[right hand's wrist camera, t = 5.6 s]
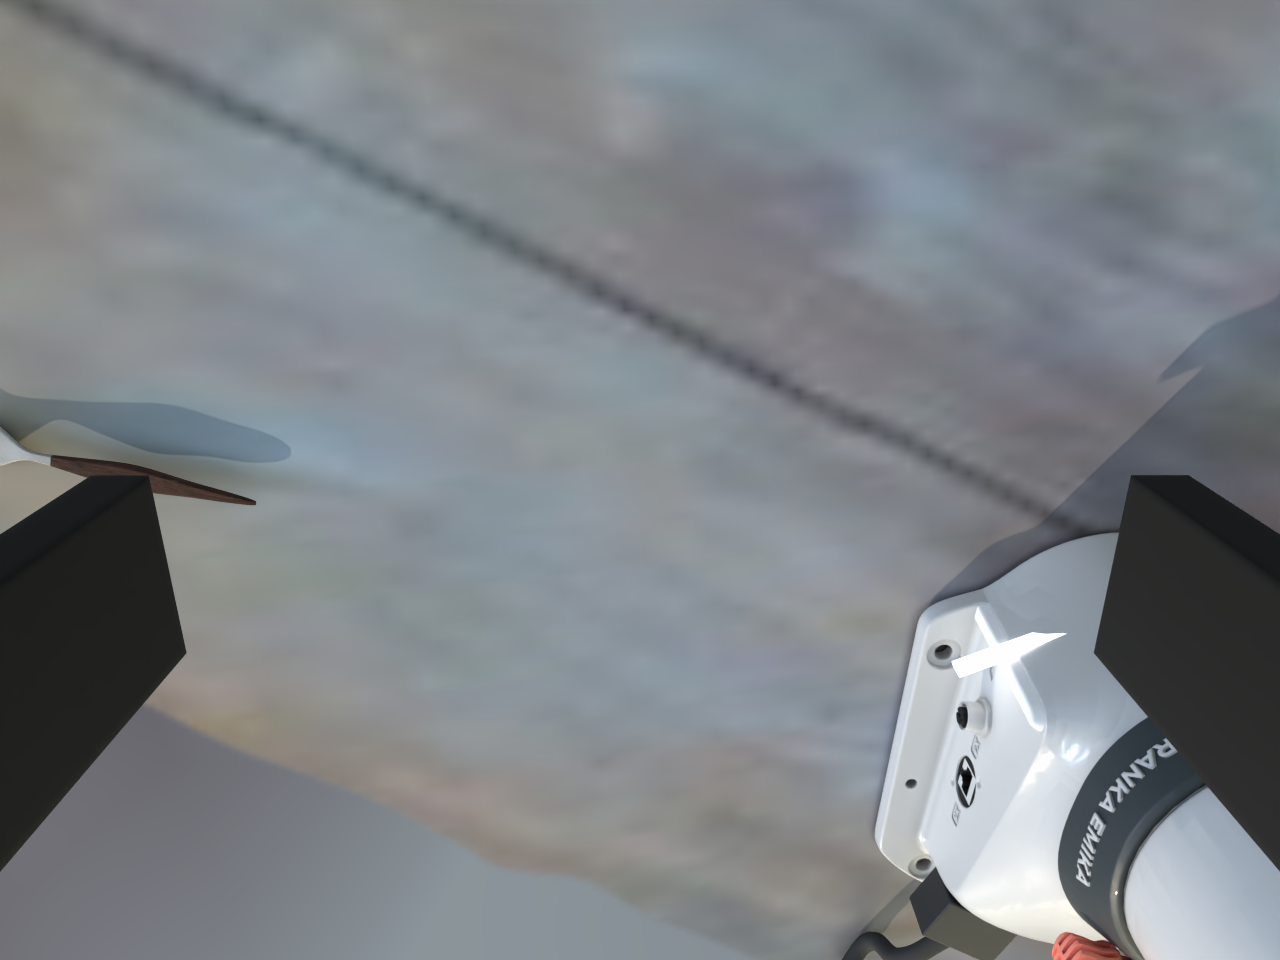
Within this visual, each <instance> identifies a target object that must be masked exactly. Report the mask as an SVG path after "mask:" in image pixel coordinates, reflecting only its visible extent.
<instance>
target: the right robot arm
mask: <svg viewBox="0 0 1280 960" xmlns="http://www.w3.org/2000/svg"><path fill="white" fill-rule="evenodd" d="M185 654H186V649H185V644H184V639H183V634H182V630H181V625H180V620H179V616H178V611H177V606H176V601H175V597H174V592H173V587H172V582H171V578H170V573H169V568H168V564H167V559H166V554H165V549H164V545H163V540H162V535H161V530H160V526H159V521H158V516H157V512H156V507H155V502H154V497H153V493H152V488H151V483H150V478H149V475H91V476H90V477H88V478H87V479H85V480H84V481H82V482H81V483H79V484H77V485H76V486H74V487H73V488H71V489H70V490H68V491H67V492H65V493H64V494H62V495H60V496H59V497H57V498H56V499H54V500H53V501H51V502H50V503H48V504H47V505H45V506H43V507H42V508H40V509H39V510H37V511H36V512H34V513H33V514H31V515H30V516H28V517H26V518H25V519H23V520H22V521H20V522H19V523H17V524H16V525H14V526H13V527H11V528H9V529H8V530H6V531H5V532H3V533H2V534H0V871H1V870H2V869H3V868H4V867H5V865H6V864H7V863H8V862H9V861H10V860H11V858H12V857H13V856H14V855H15V854H16V853H17V851H18V850H19V849H20V848H21V847H22V845H23V844H24V843H25V842H26V841H27V839H28V838H29V837H30V836H31V835H32V834H33V833H34V831H35V830H36V829H37V828H38V827H39V825H40V824H41V823H42V822H43V821H44V820H45V818H46V817H47V816H48V815H49V814H50V813H51V811H52V810H53V809H54V808H55V807H56V806H57V804H58V803H59V802H60V801H61V800H62V799H63V797H64V796H65V795H66V794H67V793H68V791H69V790H70V789H71V788H72V787H73V786H74V784H75V783H76V782H77V781H78V780H79V779H80V777H81V776H82V775H83V774H84V773H85V771H86V770H87V769H88V768H89V767H90V766H91V764H92V763H93V762H94V761H95V760H96V759H97V757H98V756H99V755H100V754H101V753H102V752H103V750H104V749H105V748H106V747H107V746H108V745H109V743H110V742H111V741H112V740H113V739H114V737H115V736H116V735H117V734H118V733H119V732H120V730H121V729H122V728H123V727H124V726H125V725H126V723H127V722H128V721H129V720H130V719H131V717H132V716H133V715H134V714H135V713H136V712H137V710H138V709H139V708H140V707H141V706H142V705H143V703H144V702H145V701H146V700H147V699H148V698H149V696H150V695H151V694H152V693H153V692H154V691H155V689H156V688H157V687H158V686H159V685H160V683H161V682H162V681H163V680H164V679H165V678H166V676H167V675H168V674H169V673H170V672H171V671H172V669H173V668H174V667H175V666H176V665H177V664H178V662H179V661H180V660H181V659H182V658H183V656H184V655H185ZM1094 654H1095V655H1096V656H1097V658H1098V659H1099V660H1100V661H1101V662H1102V664H1103V665H1104V666H1105V667H1106V668H1107V669H1108V671H1109V672H1110V673H1111V674H1112V675H1113V676H1114V678H1115V679H1116V680H1117V681H1118V682H1119V683H1120V685H1121V686H1122V687H1123V688H1124V689H1125V691H1126V692H1127V693H1128V694H1129V695H1130V696H1131V698H1132V699H1133V700H1134V701H1135V702H1136V703H1137V705H1138V706H1139V707H1140V708H1141V709H1142V710H1143V712H1144V713H1145V714H1146V715H1147V716H1148V718H1149V719H1150V720H1151V721H1152V722H1153V723H1154V725H1155V726H1156V727H1157V728H1158V729H1159V730H1160V732H1161V733H1162V734H1163V735H1164V736H1165V737H1166V739H1167V740H1168V741H1169V742H1170V743H1171V745H1172V746H1173V747H1174V748H1175V749H1176V750H1177V752H1178V753H1179V754H1180V755H1181V756H1182V757H1183V759H1184V760H1185V761H1186V762H1187V763H1188V764H1189V766H1190V767H1191V768H1192V769H1193V770H1194V772H1195V773H1196V774H1197V775H1198V776H1199V777H1200V779H1201V780H1202V781H1203V782H1204V783H1205V784H1206V786H1207V787H1208V788H1209V789H1210V790H1211V791H1212V793H1213V794H1214V795H1215V796H1216V797H1217V799H1218V800H1219V801H1220V802H1221V803H1222V804H1223V806H1224V807H1225V808H1226V809H1227V810H1228V811H1229V813H1230V814H1231V815H1232V816H1233V817H1234V818H1235V820H1236V821H1237V822H1238V823H1239V824H1240V826H1241V827H1242V828H1243V829H1244V830H1245V831H1246V833H1247V834H1248V835H1249V836H1250V837H1251V838H1252V840H1253V841H1254V842H1255V843H1256V844H1257V845H1258V847H1259V848H1260V849H1261V850H1262V851H1263V853H1264V854H1265V855H1266V856H1267V857H1268V858H1269V860H1270V861H1271V862H1272V863H1273V864H1274V865H1275V867H1276V868H1277V869H1278V870H1279V871H1280V534H1278V533H1277V532H1275V531H1274V530H1272V529H1271V528H1269V527H1267V526H1266V525H1264V524H1263V523H1261V522H1260V521H1258V520H1257V519H1255V518H1254V517H1252V516H1250V515H1249V514H1247V513H1246V512H1244V511H1243V510H1241V509H1240V508H1238V507H1237V506H1235V505H1233V504H1232V503H1230V502H1229V501H1227V500H1226V499H1224V498H1223V497H1221V496H1220V495H1218V494H1216V493H1215V492H1213V491H1212V490H1210V489H1209V488H1207V487H1206V486H1204V485H1203V484H1201V483H1199V482H1198V481H1196V480H1195V479H1193V478H1192V477H1190V476H1189V475H1131V478H1130V483H1129V488H1128V493H1127V497H1126V502H1125V507H1124V512H1123V516H1122V521H1121V526H1120V530H1119V535H1118V540H1117V545H1116V549H1115V554H1114V559H1113V564H1112V568H1111V573H1110V578H1109V582H1108V587H1107V592H1106V597H1105V601H1104V606H1103V611H1102V616H1101V620H1100V625H1099V630H1098V634H1097V639H1096V644H1095V649H1094Z"/></svg>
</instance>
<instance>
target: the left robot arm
mask: <svg viewBox="0 0 1280 960" xmlns="http://www.w3.org/2000/svg"><path fill="white" fill-rule="evenodd" d="M1118 535H1119V532H1116V533H1105V534H1097V535H1092V536H1087V537H1083V538H1079V539H1075V540H1072V541H1068V542H1065V543H1062V544H1060V545H1057V546H1055V547H1052V548H1050V549H1048V550H1046V551H1043V552H1041V553H1039V554H1037V555H1036V556H1034V557H1032V558H1030V559H1028V560H1027V561H1025V562H1024V563H1022V564H1020V565H1019V566H1017V567H1016V568H1015V569H1013V570H1012V571H1010V572H1009V573H1007V574H1006V575H1004V576H1003V577H1002V578H1000V579H999V580H997V581H995V582H994V583H992V584H990V585H988V586H987V587H985V588H983V589H980V590H976V591H972V592H968V593H964V594H961V595H957V596H954V597H951V598H948V599H945V600H942V601H940V602H937V603H935V604H933V605H931V606H930V607H929V608H927V609H926V610H925V611H924V612H923V613H922V615H921V617H920V618H919V621H918V625H917V629H916V634H915V639H914V643H913V648H912V653H911V658H910V663H909V668H908V672H907V677H906V682H905V687H904V692H903V696H902V701H901V706H900V711H899V716H898V720H897V725H896V730H895V735H894V740H893V744H892V749H891V754H890V759H889V764H888V769H887V773H886V778H885V783H884V788H883V793H882V797H881V802H880V807H879V812H878V817H877V822H876V827H875V840H876V842H877V844H878V846H879V848H880V851H881V852H882V853H883V854H884V855H885V857H886V858H887V859H889V860H890V861H891V862H892V863H893V864H894V865H895V866H896V867H898V868H899V869H900V870H902V871H904V872H905V873H907V874H908V875H910V876H912V877H913V878H915V879H917V880H919V881H921V882H922V883H921V884H920V885H919V887H918V888H917V889H916V890H915V891H914V893H913V894H912V895H911V896H910V901H911V904H912V906H913V909H914V912H915V915H916V918H917V921H918V924H919V927H920V929H921V932H922V935H923V936H925V937H924V938H922V939H920V940H919V941H917V942H915V943H913V944H911V945H909V946H906V947H901V948H896V947H895V946H893V945H892V944H891V943H890V942H889V941H888V940H887V938H886V937H884V936H883V935H882V934H880V933H877V932H866V933H864V934H862V935H861V936H860V937H859V938H857V940H856V941H855V942H854V943H853V944H852V945H851V947H850V948H849V950H848V951H847V953H846V954H845V956H844V957H843V959H842V960H863V959H864V958H865V956H866V955H867V954H868V953H869V952H871V951H873V950H874V951H876V952H877V953H878V954H879V955H880V956H881V958H882V959H883V960H928V959H930V958H931V957H933V956H935V955H936V954H938V953H940V952H941V951H943V950H945V949H947V948H949V947H951V948H953V949H955V950H958V951H960V952H962V953H965V954H967V955H969V956H972V957H974V958H976V959H978V960H995V959H996V957H997V956H998V955H999V954H1000V953H1001V952H1002V951H1003V950H1004V949H1005V948H1006V947H1007V946H1008V944H1009V943H1010V942H1011V941H1012V940H1013V939H1014V938H1015V937H1016V936H1017V935H1021V936H1024V937H1027V938H1031V939H1035V940H1039V941H1043V942H1048V943H1052V944H1054V946H1053V951H1052V957H1054V960H1280V871H1279V870H1278V869H1277V868H1276V867H1275V865H1274V864H1273V863H1272V862H1271V861H1270V860H1269V858H1268V857H1267V856H1266V855H1265V854H1264V853H1263V851H1262V850H1261V849H1260V848H1259V847H1258V845H1257V844H1256V843H1255V842H1254V841H1253V840H1252V838H1251V837H1250V836H1249V835H1248V834H1247V833H1246V831H1245V830H1244V829H1243V828H1242V827H1241V826H1240V824H1239V823H1238V822H1237V821H1236V820H1235V818H1234V817H1233V816H1232V815H1231V814H1230V813H1229V811H1228V810H1227V809H1226V808H1225V807H1224V806H1223V804H1222V803H1221V802H1220V801H1219V800H1218V799H1217V797H1216V796H1215V795H1214V794H1213V793H1212V791H1211V790H1210V789H1209V788H1208V787H1207V786H1206V784H1205V783H1204V782H1203V781H1202V780H1201V779H1200V777H1199V776H1198V775H1197V774H1196V773H1195V772H1194V770H1193V769H1192V768H1191V767H1190V766H1189V764H1188V763H1187V762H1186V761H1185V760H1184V759H1183V757H1182V756H1181V755H1180V754H1179V753H1178V752H1177V750H1176V749H1175V748H1174V747H1173V746H1172V745H1171V743H1170V742H1169V741H1168V740H1167V739H1166V737H1165V736H1164V735H1163V734H1162V733H1161V732H1160V730H1159V729H1158V728H1157V727H1156V726H1155V725H1154V723H1153V722H1152V721H1151V720H1150V719H1149V718H1148V716H1147V715H1146V714H1145V713H1144V712H1143V710H1142V709H1141V708H1140V707H1139V706H1138V705H1137V703H1136V702H1135V701H1134V700H1133V699H1132V698H1131V696H1130V695H1129V694H1128V693H1127V692H1126V691H1125V689H1124V688H1123V687H1122V686H1121V685H1120V683H1119V682H1118V681H1117V680H1116V679H1115V678H1114V676H1113V675H1112V674H1111V673H1110V672H1109V671H1108V669H1107V668H1106V667H1105V666H1104V665H1103V664H1102V662H1101V661H1100V660H1099V659H1098V658H1097V656H1096V655H1095V654H1094V649H1095V644H1096V639H1097V634H1098V630H1099V625H1100V620H1101V616H1102V611H1103V606H1104V601H1105V597H1106V592H1107V587H1108V582H1109V578H1110V573H1111V568H1112V564H1113V559H1114V554H1115V549H1116V545H1117V540H1118ZM940 645H948V646H947V647H946V649H945V650H943V651H941V652H935V650H936V648H937V647H938V646H940ZM923 858H925V859H924V860H920V859H923ZM918 860H920V861H918ZM1117 949H1119V950H1121V951H1122V952H1123V953H1124V955H1125V956H1121V955H1120V953H1119V951H1118V950H1117Z"/></svg>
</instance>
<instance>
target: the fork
mask: <svg viewBox="0 0 1280 960" xmlns="http://www.w3.org/2000/svg"><path fill="white" fill-rule="evenodd" d="M20 460H29V461H35V462H39V463H42V464H46V465H49V466H52V467H56V468H59V469H62V470H65V471H68V472H71V473H74V474H77V475H80V476H83V477H86V478H88V477H90V476H91V475H149V478H150V483H151V488H152V493H157V494H165V495H174V496H183V497H191V498H198V499H205V500H213V501H220V502H227V503H235V504H244V505H256V501H254V500H251V499H249V498H246V497H242V496H239V495H236V494H233V493H229V492H226V491H222V490H219V489H215V488H211V487H208V486H204V485H201V484H197V483H194V482H190V481H187V480H184V479H180V478H177V477H174V476H171V475H168V474H164V473H161V472H158V471H155V470H151V469H148V468H144V467H140V466H136V465H131V464H126V463H120V462H112V461H104V460H95V459H85V458H76V457H66V456H57V455H48V454H42V453H37V452H33V451H30V450H28V449H26V448H25V447H23V446H22V445H21V444H19V443H18V442H17V441H16V440H15V439H14V438H13V437H12V436H10V435H9V434H8V433H7V432H6V431H5V430H4V429H3V428H2V427H1V426H0V466H1V465H5V464H8V463H12V462H15V461H20Z"/></svg>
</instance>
